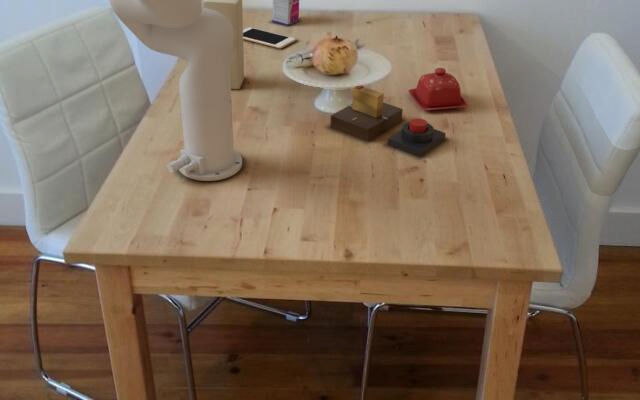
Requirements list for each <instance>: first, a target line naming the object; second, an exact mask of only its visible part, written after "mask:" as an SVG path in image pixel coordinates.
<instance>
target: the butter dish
mask: <svg viewBox="0 0 640 400" xmlns="http://www.w3.org/2000/svg"><path fill="white" fill-rule="evenodd" d="M407 92H408V94H409V95H410V96H411V98H412V99H413V100H414V102H415V103H416V104H417V106H418V107H419V108H420V109H421V110H423V111H436V110H448V109H459V108H460V109H462V108H466V107H468V103H467V101H466V100H465V99H464V98H463V96H462V95H461V94H462V93H461V85H460V83H459V81H458V79H456V78H455V76H454V75H453V74H451V73H449V72H447V70H446V69H445V68H444V67H436V68H435V69H434V72H430V73H429V72H428V73H426V74H423V75H421V76H420V77H419V79H418V82H417V85H416V88H410V89H408V91H407Z"/></svg>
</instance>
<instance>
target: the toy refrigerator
mask: <svg viewBox="0 0 640 400" xmlns="http://www.w3.org/2000/svg"><path fill="white" fill-rule="evenodd" d="M202 5H203V6H202V7H203V8H208V9H211V10H215V11H217V12H219V13H221V14H223V15H224V16H226V17H227V18H228V19H229V20H230V22H231V24H232V26H233V29H234V42H233V49H232V56H231V66H230V82H231V90H240V89H241V86H242V84H243V83H244V80H245V60H244V59H245V58H244V55H245V54H244V39H243V30H244V22H243V21H244V17H243V0H203V1H202Z"/></svg>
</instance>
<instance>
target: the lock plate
mask: <svg viewBox="0 0 640 400" xmlns="http://www.w3.org/2000/svg"><path fill="white" fill-rule="evenodd" d="M352 107H353V103H351V104H346V107H343V108H342V109H340V110H338V111H336V112H335V113H333V114H331V115H330V129H333V130H336V131H338V132H341V133H343V134H346V135H349V136H351V137H353V138H356V139H358V140H359V139H360V140H362V141H364V142H367V143H368V142H370V141H372V140H374V139H375V138H376V137H378V136H380V135H382V134H383V133H385V132H386V131H388V130H389V129H391V128H393V127H394V126H396V125H397V124H399V123H401V122H402V120H403V119H402V118H403V111H404V110H403V108H402V107H398V106H395V105H392V104H389V103H386V102H385V101H383V109H382V115H380V116H379V117H377V118H375V117H373V116H370V115H367V114H364V113H362V112H359V111H356V110H353V109H352Z"/></svg>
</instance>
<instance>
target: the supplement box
mask: <svg viewBox="0 0 640 400" xmlns="http://www.w3.org/2000/svg"><path fill="white" fill-rule="evenodd" d="M299 21H300V0H272V23H275V24H279V25H282V26H287V27H288V26H290V25H292V24H295V23H296V22H297V23H298V22H299Z"/></svg>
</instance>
